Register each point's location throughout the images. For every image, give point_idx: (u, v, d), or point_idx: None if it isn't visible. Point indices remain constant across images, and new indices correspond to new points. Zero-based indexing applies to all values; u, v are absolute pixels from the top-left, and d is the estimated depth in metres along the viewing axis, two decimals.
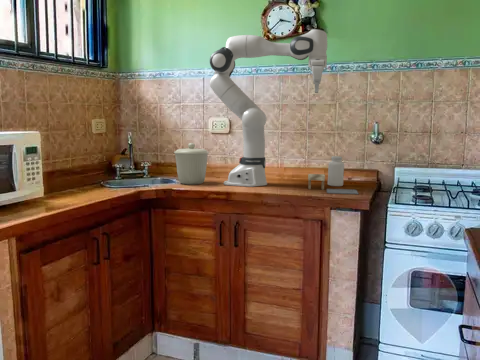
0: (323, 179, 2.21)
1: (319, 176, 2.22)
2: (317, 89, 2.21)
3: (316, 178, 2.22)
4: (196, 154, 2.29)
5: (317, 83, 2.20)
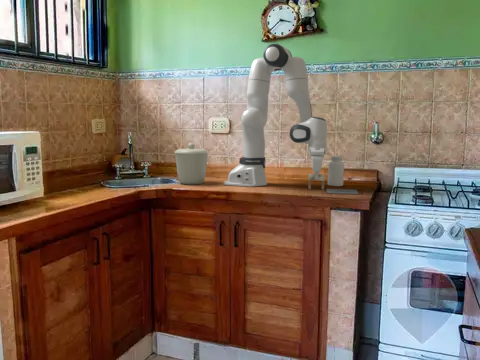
0: (323, 179, 2.21)
1: (319, 176, 2.22)
2: (317, 177, 2.20)
3: None
4: (196, 154, 2.29)
5: (317, 172, 2.19)
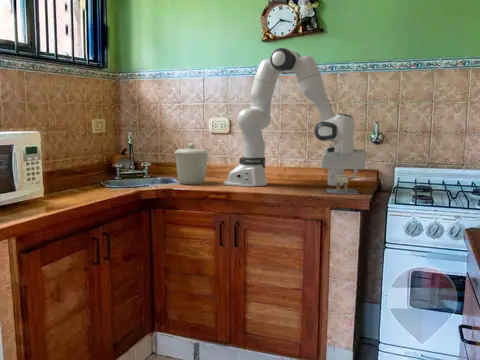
0: (337, 181, 2.13)
1: (336, 177, 2.14)
2: None
3: (336, 179, 2.16)
4: (196, 154, 2.29)
5: None
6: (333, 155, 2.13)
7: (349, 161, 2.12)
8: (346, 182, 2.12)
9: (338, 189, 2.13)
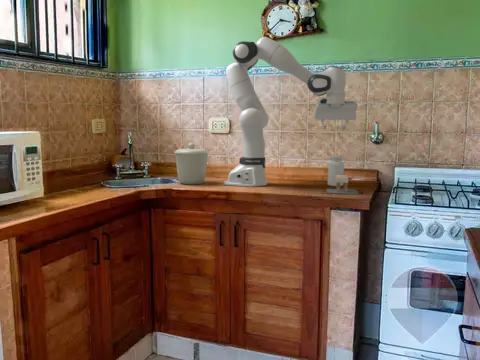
0: (337, 181, 2.13)
1: (336, 177, 2.14)
2: (323, 127, 2.26)
3: (336, 179, 2.16)
4: (196, 154, 2.29)
5: (321, 121, 2.26)
6: (325, 106, 2.23)
7: (340, 112, 2.23)
8: (346, 182, 2.12)
9: (338, 189, 2.13)
